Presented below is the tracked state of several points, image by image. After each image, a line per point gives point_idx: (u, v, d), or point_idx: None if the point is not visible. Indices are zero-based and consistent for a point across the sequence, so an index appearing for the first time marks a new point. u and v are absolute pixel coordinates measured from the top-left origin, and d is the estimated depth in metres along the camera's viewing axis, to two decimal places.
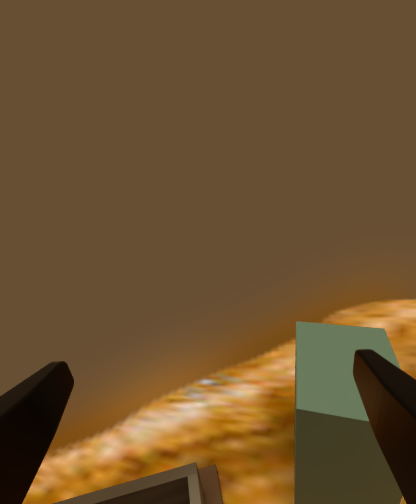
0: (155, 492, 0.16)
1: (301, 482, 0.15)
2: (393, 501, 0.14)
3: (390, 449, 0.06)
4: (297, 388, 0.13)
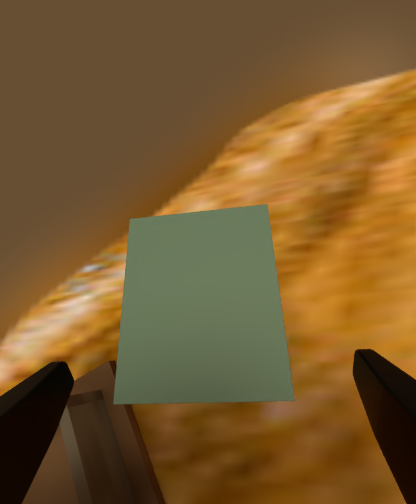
0: None
1: None
2: None
3: (390, 449, 0.06)
4: (118, 363, 0.08)
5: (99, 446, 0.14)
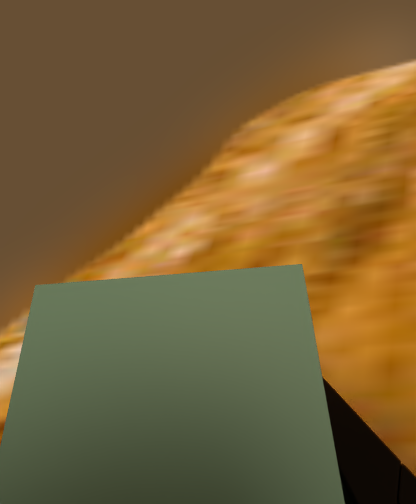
0: None
1: None
2: None
3: None
4: None
5: None
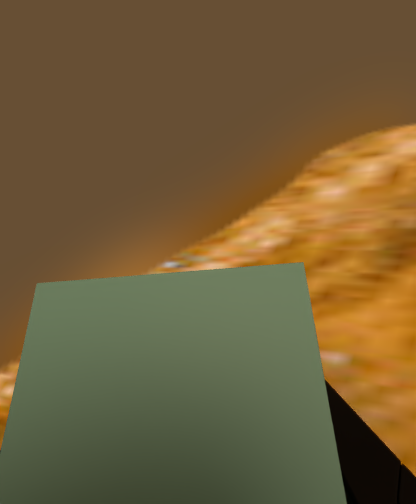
0: None
1: None
2: None
3: None
4: None
5: None
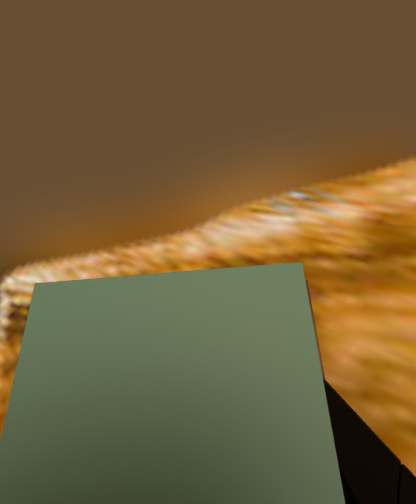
0: None
1: None
2: None
3: None
4: None
5: None
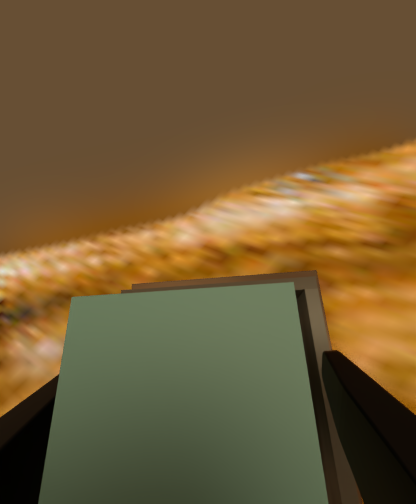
0: None
1: None
2: None
3: (350, 449, 0.06)
4: None
5: None
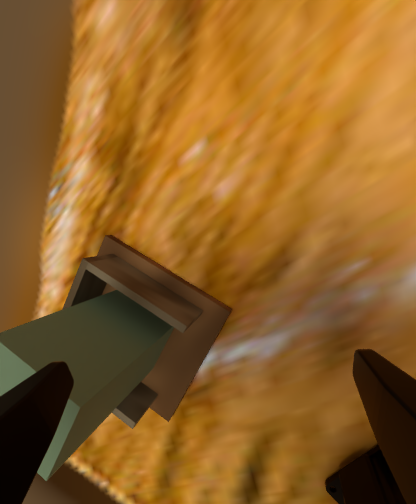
0: (83, 289, 0.22)
1: (124, 397, 0.19)
2: (144, 353, 0.18)
3: (390, 449, 0.06)
4: None
5: (126, 273, 0.22)
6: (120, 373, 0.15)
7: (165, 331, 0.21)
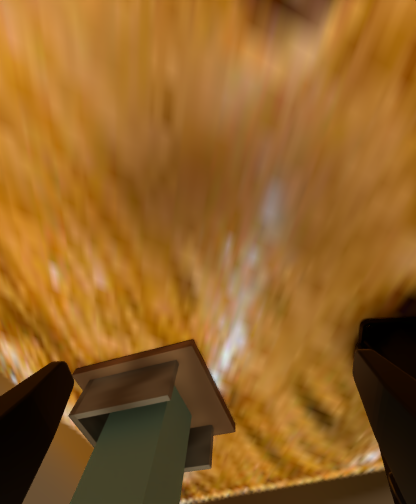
0: (93, 426, 0.25)
1: (183, 463, 0.23)
2: (160, 436, 0.21)
3: (390, 449, 0.06)
4: None
5: (106, 391, 0.24)
6: (150, 476, 0.19)
7: None
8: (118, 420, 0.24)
